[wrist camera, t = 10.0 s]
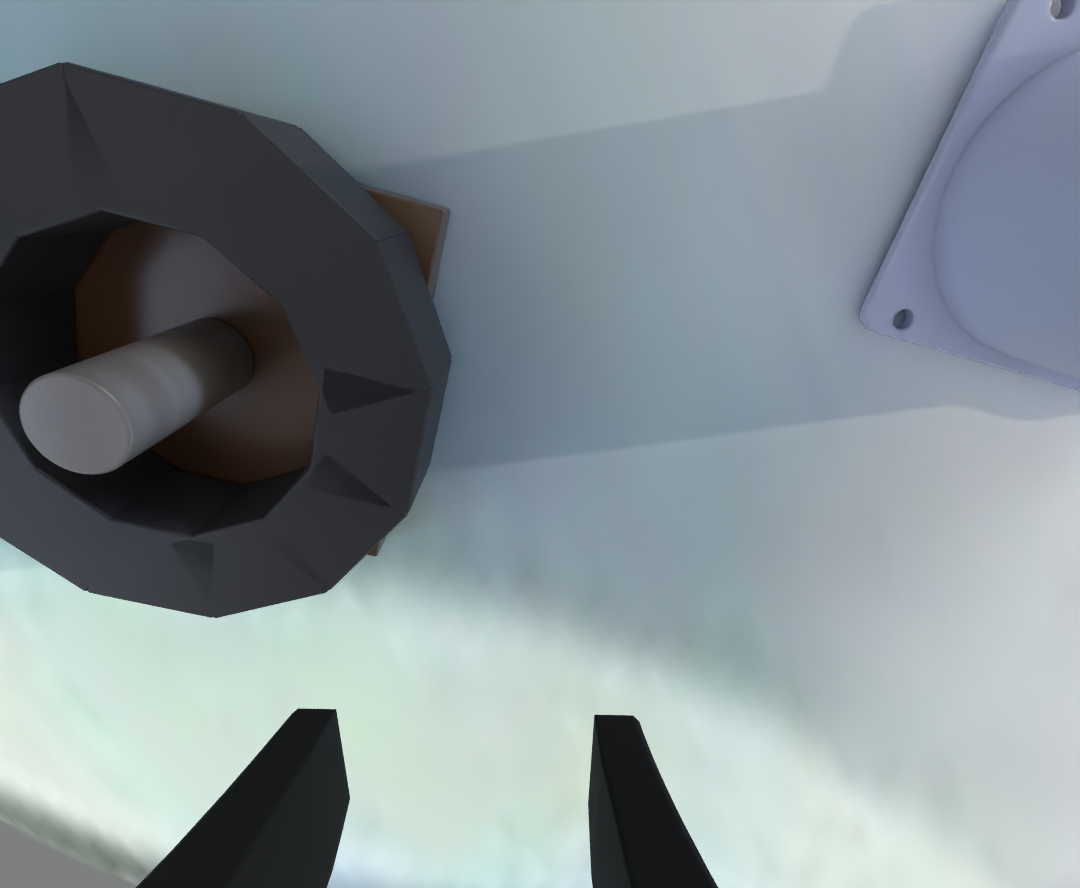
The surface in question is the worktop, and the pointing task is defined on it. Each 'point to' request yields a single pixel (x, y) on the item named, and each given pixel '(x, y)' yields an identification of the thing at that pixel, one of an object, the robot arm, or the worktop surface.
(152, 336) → the stand
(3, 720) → the worktop surface
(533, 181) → the worktop surface
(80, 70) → the ring
